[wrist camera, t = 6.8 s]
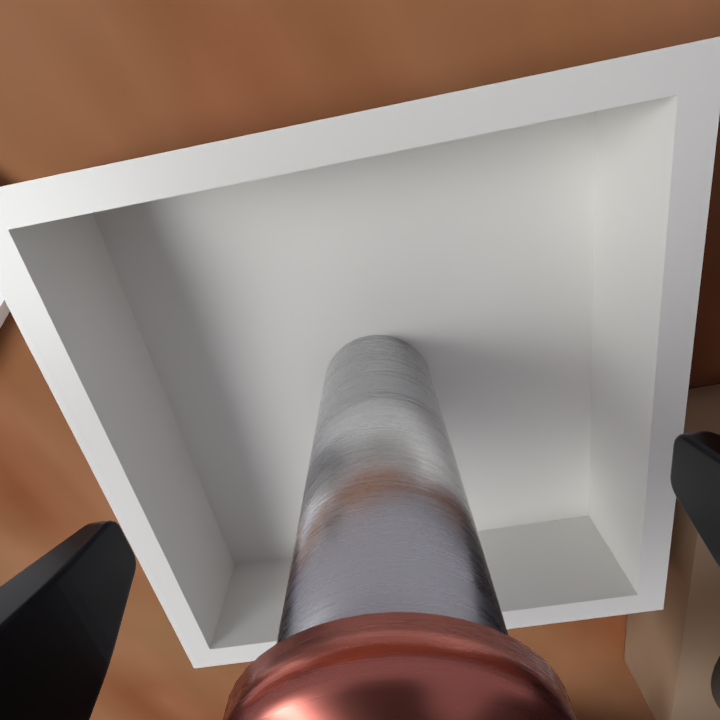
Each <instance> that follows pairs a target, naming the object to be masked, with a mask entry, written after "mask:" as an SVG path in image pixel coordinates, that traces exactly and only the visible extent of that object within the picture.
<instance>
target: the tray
mask: <svg viewBox="0 0 720 720" xmlns="http://www.w3.org/2000/svg"><path fill="white" fill-rule="evenodd" d="M719 115H720V37H715V38H710V39H705V40H701V41H696V42H691V43H686V44H682V45H677V46H672V47H667V48H662V49H658V50H653V51H648V52H643V53H638V54H634V55H629V56H624V57H619V58H614V59H610V60H605V61H600V62H595V63H590V64H586V65H581V66H576V67H571V68H567V69H562V70H557V71H552V72H547V73H543V74H538V75H533V76H528V77H523V78H519V79H514V80H509V81H504V82H499V83H495V84H490V85H485V86H480V87H476V88H471V89H466V90H461V91H456V92H452V93H447V94H442V95H437V96H432V97H428V98H423V99H418V100H413V101H408V102H404V103H399V104H394V105H389V106H385V107H380V108H375V109H370V110H365V111H361V112H356V113H351V114H346V115H341V116H337V117H332V118H327V119H322V120H317V121H313V122H308V123H303V124H298V125H294V126H289V127H284V128H279V129H274V130H270V131H265V132H260V133H255V134H250V135H246V136H241V137H236V138H231V139H226V140H222V141H217V142H212V143H207V144H203V145H198V146H193V147H188V148H183V149H179V150H174V151H169V152H164V153H159V154H155V155H150V156H145V157H140V158H135V159H131V160H126V161H121V162H116V163H112V164H107V165H102V166H97V167H92V168H88V169H83V170H78V171H73V172H68V173H64V174H59V175H54V176H49V177H44V178H40V179H35V180H30V181H25V182H21V183H16V184H11V185H6V186H1V187H0V292H1V294H2V296H3V298H4V300H5V302H6V304H7V306H8V308H9V310H10V312H11V314H12V316H13V318H14V320H15V321H16V323H17V325H18V327H19V329H20V331H21V333H22V335H23V337H24V339H25V341H26V343H27V345H28V347H29V349H30V351H31V353H32V354H33V356H34V358H35V360H36V362H37V364H38V366H39V368H40V370H41V372H42V374H43V376H44V378H45V380H46V382H47V384H48V386H49V388H50V389H51V391H52V393H53V395H54V397H55V399H56V401H57V403H58V405H59V407H60V409H61V411H62V413H63V415H64V417H65V419H66V421H67V422H68V424H69V426H70V428H71V430H72V432H73V434H74V436H75V438H76V440H77V442H78V444H79V446H80V448H81V450H82V452H83V454H84V456H85V457H86V459H87V461H88V463H89V465H90V467H91V469H92V471H93V473H94V475H95V477H96V479H97V481H98V483H99V485H100V487H101V489H102V490H103V492H104V494H105V496H106V498H107V500H108V502H109V504H110V506H111V508H112V510H113V512H114V514H115V516H116V518H117V520H118V522H119V524H120V525H121V527H122V529H123V531H124V533H125V535H126V537H127V539H128V541H129V543H130V545H131V547H132V549H133V551H134V553H135V555H136V557H137V558H138V560H139V562H140V564H141V566H142V568H143V570H144V572H145V574H146V576H147V578H148V580H149V582H150V584H151V586H152V588H153V590H154V592H155V593H156V595H157V597H158V599H159V601H160V603H161V605H162V607H163V609H164V611H165V613H166V615H167V617H168V619H169V621H170V623H171V625H172V626H173V628H174V630H175V632H176V634H177V636H178V638H179V640H180V642H181V644H182V646H183V648H184V650H185V652H186V654H187V656H188V658H189V660H190V661H191V663H192V665H193V667H194V668H201V667H209V666H217V665H225V664H233V663H241V662H249V661H255V660H256V659H257V658H258V657H259V656H260V655H261V654H263V653H264V652H265V651H267V650H268V649H270V648H271V647H273V646H274V645H275V644H277V639H278V633H279V628H280V622H281V617H282V611H283V606H284V600H285V595H286V589H287V584H288V578H289V573H290V567H291V562H292V556H293V551H294V545H295V540H296V534H297V529H298V523H299V517H300V512H301V506H302V501H303V495H304V490H305V484H306V479H307V473H308V468H309V462H310V457H311V451H312V446H313V440H314V435H315V429H316V424H317V418H318V413H319V407H320V402H321V396H322V391H323V385H324V380H325V374H326V371H327V367H328V365H329V363H330V361H331V360H332V358H333V356H334V355H335V354H336V353H337V352H338V351H339V350H340V349H341V348H342V347H343V346H345V345H346V344H348V343H349V342H351V341H353V340H355V339H358V338H360V337H364V336H369V335H387V336H392V337H396V338H398V339H401V340H403V341H405V342H407V343H409V344H410V345H411V346H413V347H414V348H415V349H416V350H417V351H418V352H419V353H420V354H421V356H422V357H423V358H424V360H425V362H426V364H427V366H428V369H429V372H430V375H431V379H432V382H433V385H434V389H435V392H436V395H437V399H438V402H439V405H440V409H441V412H442V415H443V419H444V422H445V425H446V429H447V432H448V435H449V439H450V442H451V445H452V449H453V452H454V455H455V459H456V462H457V465H458V469H459V472H460V475H461V479H462V482H463V485H464V489H465V492H466V495H467V499H468V502H469V505H470V509H471V512H472V515H473V519H474V522H475V525H476V529H477V532H478V535H479V539H480V542H481V545H482V549H483V552H484V555H485V559H486V562H487V565H488V569H489V572H490V575H491V579H492V582H493V585H494V589H495V592H496V595H497V599H498V602H499V605H500V609H501V612H502V615H503V619H504V622H505V625H506V629H512V628H520V627H528V626H536V625H544V624H552V623H560V622H568V621H576V620H584V619H592V618H600V617H608V616H616V615H624V614H632V613H639V612H647V611H655V610H663V608H664V599H665V590H666V581H667V573H668V564H669V555H670V546H671V537H672V529H673V520H674V511H675V502H676V495H675V493H674V491H673V489H672V485H671V480H670V475H671V465H672V456H673V446H674V441H675V439H676V437H677V436H679V435H680V434H683V432H684V423H685V414H686V405H687V397H688V388H689V379H690V370H691V361H692V353H693V344H694V335H695V326H696V317H697V309H698V300H699V291H700V282H701V273H702V265H703V256H704V247H705V238H706V229H707V221H708V212H709V203H710V194H711V185H712V177H713V168H714V159H715V150H716V141H717V133H718V124H719Z"/></svg>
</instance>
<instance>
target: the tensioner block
mask: <svg viewBox="0 0 720 720" xmlns="http://www.w3.org/2000/svg"><path fill="white" fill-rule="evenodd" d="M698 431H710V432H713V433H716V434H719V435H720V384H716V385H710V386H704V387H697V388H691V389H688V397H687V405H686V414H685V423H684V432H683V434H685V433H691V432H698ZM624 660H625V662H626V664H627V666H628V668H629V670H630V672H631V674H632V676H633V677H634V679H635V681H636V683H637V685H638V687H639V689H640V691H641V693H642V695H643V697H644V699H645V701H646V703H647V705H648V707H649V709H650V710H651V712H652V714H653V716H654V718H655V720H720V568H719V567H718V565H717V563H716V562H715V560H714V558H713V557H712V555H711V553H710V552H709V550H708V548H707V547H706V545H705V543H704V542H703V540H702V538H701V537H700V535H699V533H698V532H697V530H696V528H695V527H694V525H693V523H692V522H691V520H690V518H689V517H688V515H687V513H686V512H685V510H684V508H683V507H682V505H681V503H680V502H679V500H678V498H677V497H676V502H675V511H674V520H673V529H672V537H671V546H670V555H669V564H668V573H667V581H666V590H665V599H664V608H663V610H655V611H647V612H639V613H632V614H627V626H626V641H625V656H624Z"/></svg>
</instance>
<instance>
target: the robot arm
mask: <svg viewBox="0 0 720 720" xmlns="http://www.w3.org/2000/svg"><path fill="white" fill-rule="evenodd" d="M670 480H671V485H672V489H673V491H674V493H675V495H676V497H677V498H678V500H679V502H680V503H681V505H682V507H683V508H684V510H685V512H686V513H687V515H688V517H689V518H690V520H691V522H692V523H693V525H694V527H695V528H696V530H697V532H698V533H699V535H700V537H701V538H702V540H703V542H704V543H705V545H706V547H707V548H708V550H709V552H710V553H711V555H712V557H713V558H714V560H715V562H716V563H717V565H718V567H719V568H720V435H719V434H716V433H713V432H710V431H698V432H691V433H685V434H680V435H679V436H677V437H676V439H675V441H674V446H673V456H672V465H671V475H670ZM135 568H136V560H135V556H134V553H133V551H132V549H131V547H130V545H129V543H128V541H127V540H126V538H125V536H124V534H123V532H122V530H121V528H120V526H119V525H118V524H117V523H116V522H115V521H111V520H108V521H102V522H95V523H90V524H88V525H86V526H84V527H83V528H81V529H80V530H79V531H77V532H76V533H74V534H73V535H72V536H70V537H69V538H67V539H66V540H65V541H63V542H62V543H61V544H59V545H58V546H56V547H55V548H54V549H52V550H51V551H49V552H48V553H47V554H45V555H44V556H42V557H41V558H40V559H38V560H37V561H35V562H34V563H33V564H31V565H30V566H29V567H27V568H26V569H24V570H23V571H22V572H20V573H19V574H17V575H16V576H15V577H13V578H12V579H10V580H9V581H8V582H6V583H5V584H4V585H2V586H1V587H0V720H89V719H90V716H91V714H92V711H93V708H94V706H95V703H96V700H97V697H98V695H99V692H100V689H101V687H102V684H103V681H104V678H105V675H106V673H107V670H108V667H109V664H110V660H111V657H112V654H113V650H114V647H115V643H116V640H117V636H118V632H119V628H120V625H121V621H122V617H123V614H124V610H125V606H126V603H127V599H128V595H129V592H130V588H131V584H132V581H133V577H134V573H135Z"/></svg>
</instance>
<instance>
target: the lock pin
mask: <svg viewBox="0 0 720 720" xmlns="http://www.w3.org/2000/svg"><path fill="white" fill-rule="evenodd" d="M223 720H577V718H576V716H575V713H574V711H573V708H572V705H571V703H570V700H569V697H568V695H567V692H566V689H565V687H564V685H563V684H562V682H561V680H560V679H559V677H558V675H557V674H556V673H555V671H554V670H553V669H552V668H551V667H550V666H549V665H548V663H547V662H546V661H545V660H544V659H542V658H541V657H540V656H539V655H538V654H536V653H535V652H534V651H533V650H532V649H530V648H529V647H527V646H526V645H524V644H522V643H521V642H519V641H517V640H516V639H514V638H512V637H510V636H509V635H508V632H507V629H506V625H505V622H504V619H503V615H502V612H501V609H500V605H499V602H498V599H497V595H496V592H495V589H494V585H493V582H492V579H491V575H490V572H489V569H488V565H487V562H486V559H485V555H484V552H483V549H482V545H481V542H480V539H479V535H478V532H477V529H476V525H475V522H474V519H473V515H472V512H471V509H470V505H469V502H468V499H467V495H466V492H465V489H464V485H463V482H462V479H461V475H460V472H459V469H458V465H457V462H456V459H455V455H454V452H453V449H452V445H451V442H450V439H449V435H448V432H447V429H446V425H445V422H444V419H443V415H442V412H441V409H440V405H439V402H438V399H437V395H436V392H435V389H434V385H433V382H432V379H431V375H430V372H429V369H428V366H427V364H426V362H425V360H424V358H423V357H422V356H421V354H420V353H419V352H418V351H417V350H416V349H415V348H414V347H413V346H411V345H410V344H409V343H407V342H405V341H403V340H401V339H398V338H396V337H392V336H387V335H369V336H364V337H360V338H358V339H355V340H353V341H351V342H349V343H348V344H346V345H345V346H343V347H342V348H341V349H340V350H339V351H338V352H337V353H336V354H335V355H334V356H333V358H332V360H331V361H330V363H329V365H328V367H327V371H326V374H325V380H324V385H323V391H322V396H321V402H320V407H319V413H318V418H317V424H316V429H315V435H314V440H313V446H312V451H311V457H310V462H309V468H308V473H307V479H306V484H305V490H304V495H303V501H302V506H301V512H300V517H299V523H298V529H297V534H296V540H295V545H294V551H293V556H292V562H291V567H290V573H289V578H288V584H287V589H286V595H285V600H284V606H283V611H282V617H281V622H280V628H279V633H278V639H277V644H275V645H274V646H273V647H271V648H270V649H268V650H267V651H265V652H264V653H263V654H261V655H260V656H259V657H258V658H257V659H256V660H255V661H254V662H252V663H251V664H250V665H249V666H248V667H247V668H246V669H245V671H244V672H243V673H242V675H241V676H240V677H239V679H238V680H237V681H236V683H235V685H234V687H233V689H232V691H231V693H230V695H229V698H228V702H227V706H226V709H225V713H224V717H223Z"/></svg>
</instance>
